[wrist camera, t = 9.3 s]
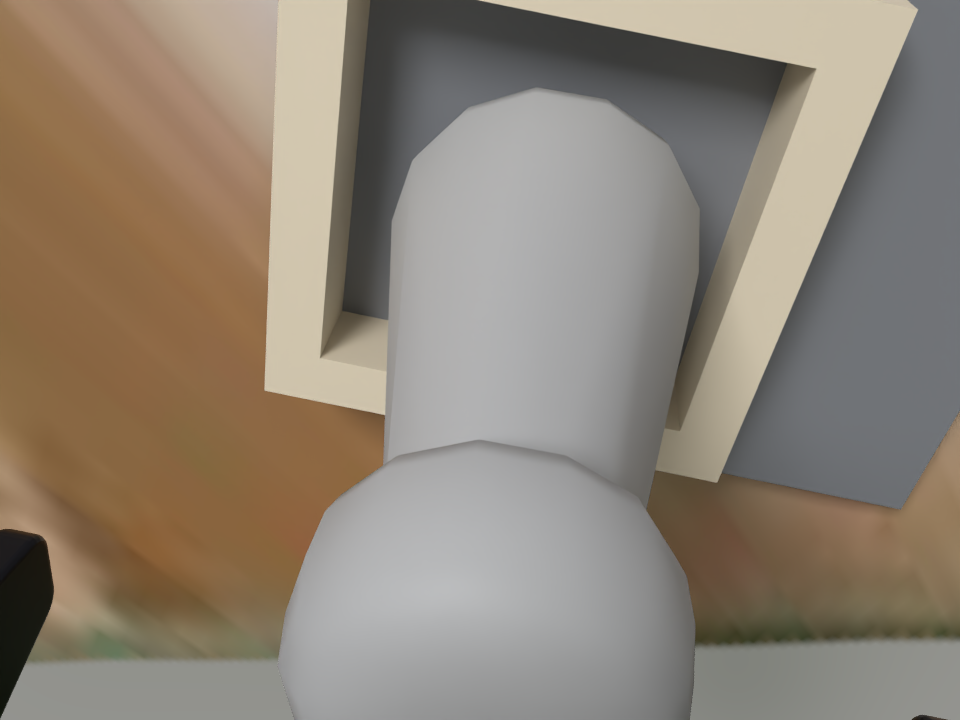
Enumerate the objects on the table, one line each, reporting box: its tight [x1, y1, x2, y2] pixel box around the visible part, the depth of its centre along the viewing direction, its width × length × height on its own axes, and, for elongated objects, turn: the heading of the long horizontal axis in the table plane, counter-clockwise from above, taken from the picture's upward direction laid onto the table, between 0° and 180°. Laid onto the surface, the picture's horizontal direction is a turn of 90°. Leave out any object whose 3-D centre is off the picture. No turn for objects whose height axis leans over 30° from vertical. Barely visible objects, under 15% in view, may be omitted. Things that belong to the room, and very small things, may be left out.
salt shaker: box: [277, 87, 700, 720], centre depth 14 cm, size 6×6×13 cm
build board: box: [265, 0, 960, 509], centre depth 19 cm, size 16×13×3 cm
